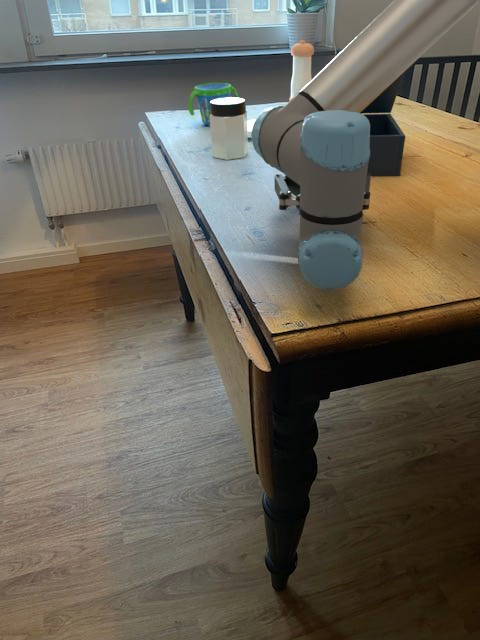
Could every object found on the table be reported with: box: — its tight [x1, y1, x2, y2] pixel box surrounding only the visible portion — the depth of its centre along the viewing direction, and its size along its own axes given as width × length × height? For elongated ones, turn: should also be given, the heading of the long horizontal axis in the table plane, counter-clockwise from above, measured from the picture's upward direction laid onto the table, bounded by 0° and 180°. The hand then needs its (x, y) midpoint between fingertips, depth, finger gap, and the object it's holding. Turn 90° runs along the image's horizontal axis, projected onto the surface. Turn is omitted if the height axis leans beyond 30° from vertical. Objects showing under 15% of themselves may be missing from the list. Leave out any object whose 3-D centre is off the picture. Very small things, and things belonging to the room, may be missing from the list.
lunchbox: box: [362, 113, 406, 177], centre depth 109 cm, size 20×13×8 cm, turn 174°
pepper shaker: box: [289, 39, 315, 101], centre depth 153 cm, size 7×7×19 cm
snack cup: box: [187, 82, 239, 127], centre depth 144 cm, size 16×10×10 cm
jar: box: [209, 97, 249, 161], centre depth 116 cm, size 9×8×12 cm
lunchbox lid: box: [360, 70, 406, 114], centre depth 105 cm, size 21×13×5 cm
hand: (320, 167), depth 89 cm, fingers closed on bell pepper, 8 cm apart
